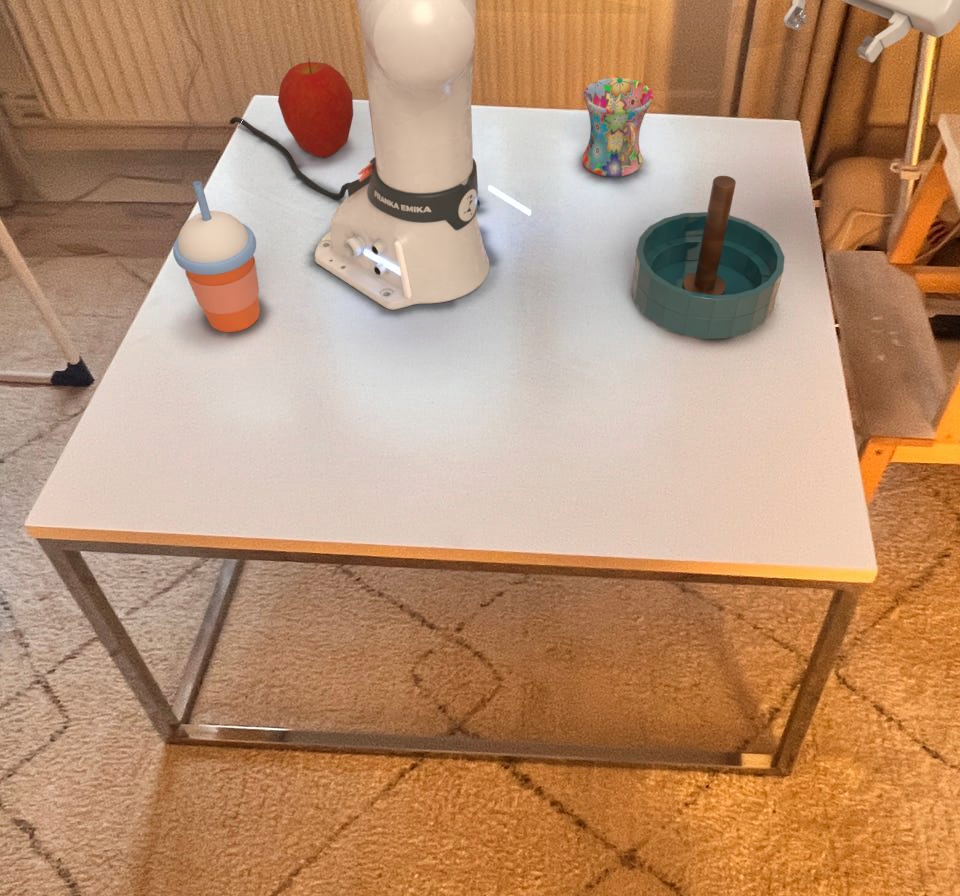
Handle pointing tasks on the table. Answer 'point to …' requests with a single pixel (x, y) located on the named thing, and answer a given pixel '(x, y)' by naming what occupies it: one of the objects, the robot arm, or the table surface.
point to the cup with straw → (220, 266)
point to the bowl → (743, 266)
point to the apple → (316, 107)
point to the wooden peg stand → (713, 240)
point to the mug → (615, 125)
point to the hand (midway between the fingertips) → (826, 41)
